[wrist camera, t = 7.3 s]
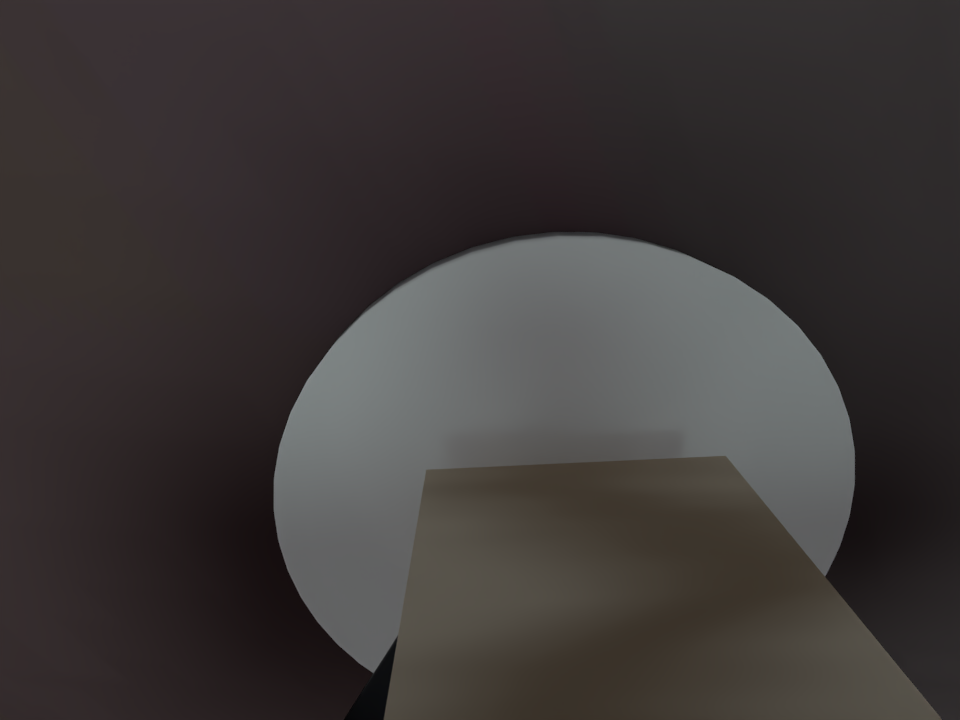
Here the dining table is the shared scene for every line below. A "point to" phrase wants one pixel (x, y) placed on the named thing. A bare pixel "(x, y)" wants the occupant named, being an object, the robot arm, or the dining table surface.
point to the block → (626, 603)
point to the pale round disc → (545, 404)
